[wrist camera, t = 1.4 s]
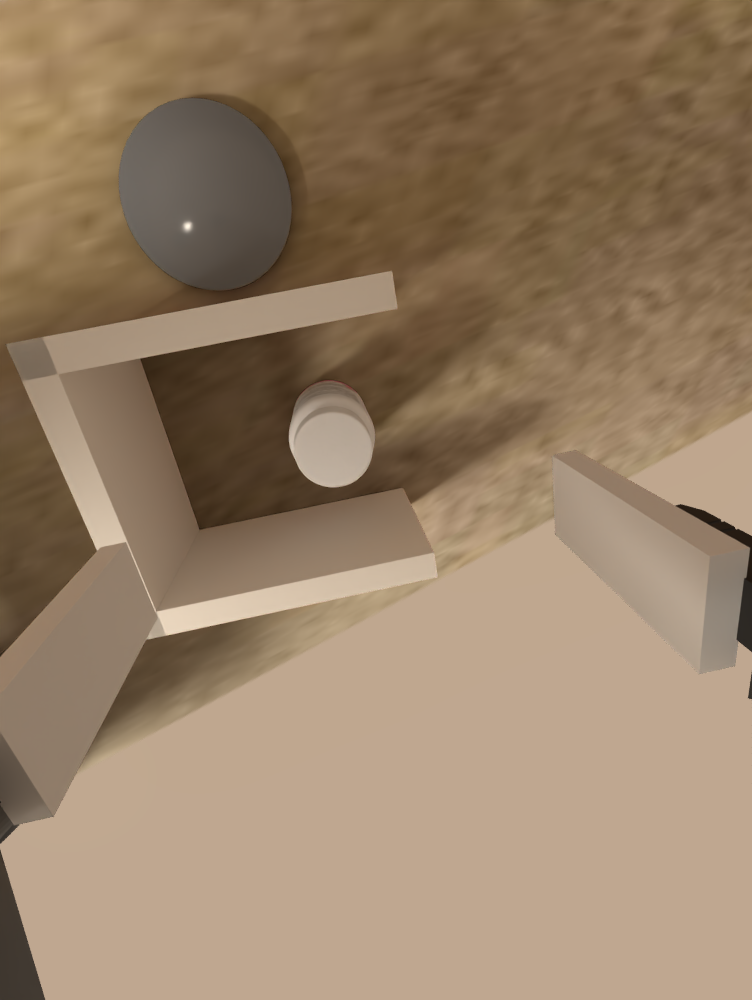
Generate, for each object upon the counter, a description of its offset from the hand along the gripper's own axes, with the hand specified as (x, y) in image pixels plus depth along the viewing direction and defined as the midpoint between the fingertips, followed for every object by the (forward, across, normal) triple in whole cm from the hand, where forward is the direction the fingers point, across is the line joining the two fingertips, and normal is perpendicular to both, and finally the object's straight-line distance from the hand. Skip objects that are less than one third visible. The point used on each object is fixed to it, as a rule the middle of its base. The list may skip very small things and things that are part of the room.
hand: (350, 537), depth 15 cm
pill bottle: (+19, 0, 0) cm, 19 cm away
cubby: (+19, -4, 0) cm, 19 cm away
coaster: (+19, -4, +13) cm, 23 cm away
